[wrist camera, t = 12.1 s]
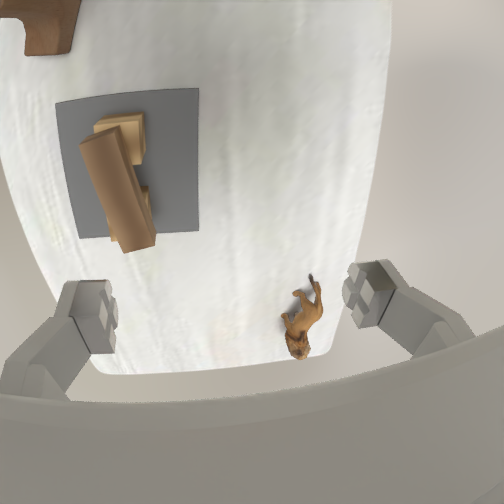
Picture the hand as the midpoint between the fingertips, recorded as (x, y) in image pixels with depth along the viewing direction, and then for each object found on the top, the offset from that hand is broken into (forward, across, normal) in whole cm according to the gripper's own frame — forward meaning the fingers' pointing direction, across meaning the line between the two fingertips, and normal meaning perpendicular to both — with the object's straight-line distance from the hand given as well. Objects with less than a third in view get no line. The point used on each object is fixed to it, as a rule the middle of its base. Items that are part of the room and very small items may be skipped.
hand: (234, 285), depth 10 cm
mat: (+31, +9, +8) cm, 33 cm away
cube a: (+31, +9, +3) cm, 32 cm away
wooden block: (+31, +17, -13) cm, 38 cm away
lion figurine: (+31, -18, +36) cm, 51 cm away
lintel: (+26, +9, +8) cm, 28 cm away
